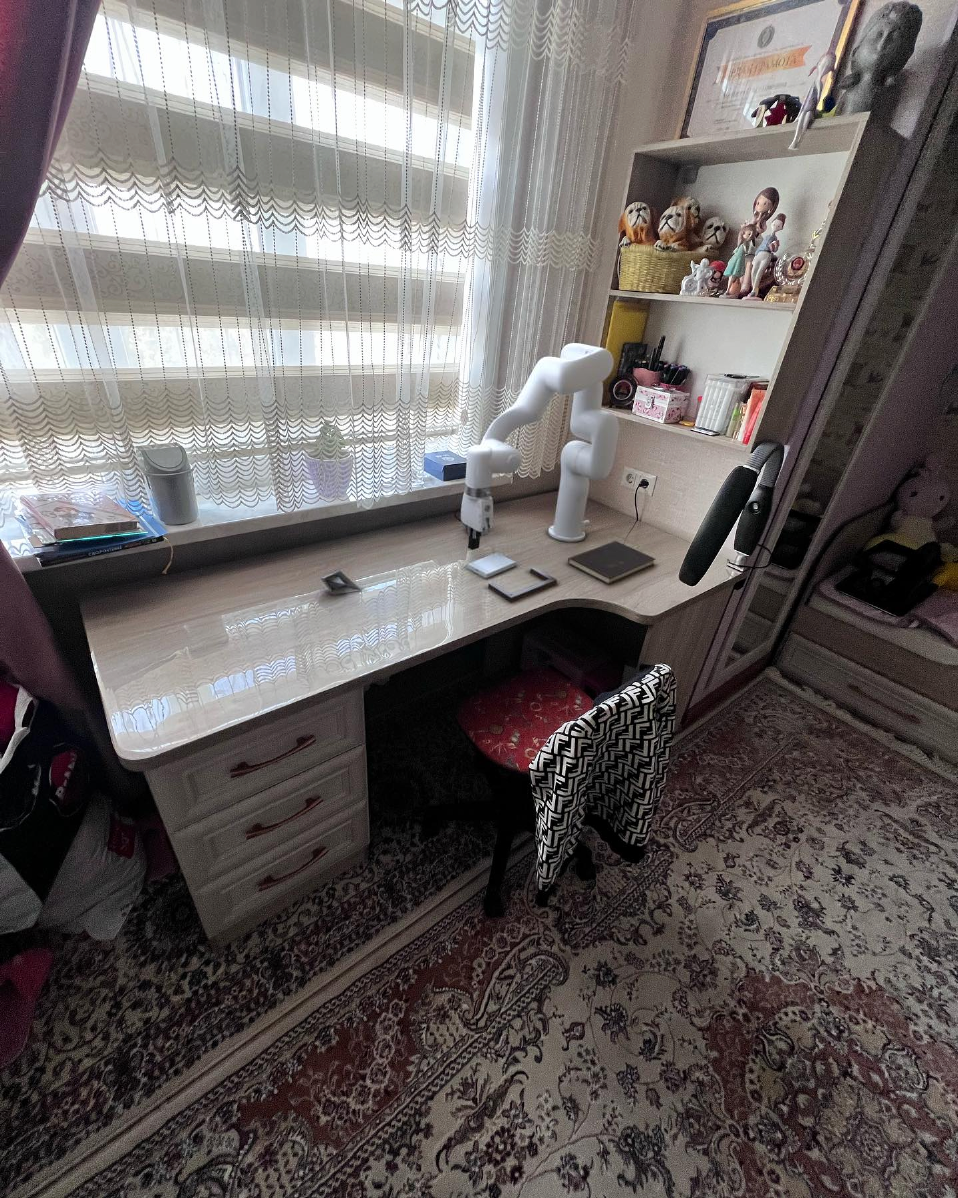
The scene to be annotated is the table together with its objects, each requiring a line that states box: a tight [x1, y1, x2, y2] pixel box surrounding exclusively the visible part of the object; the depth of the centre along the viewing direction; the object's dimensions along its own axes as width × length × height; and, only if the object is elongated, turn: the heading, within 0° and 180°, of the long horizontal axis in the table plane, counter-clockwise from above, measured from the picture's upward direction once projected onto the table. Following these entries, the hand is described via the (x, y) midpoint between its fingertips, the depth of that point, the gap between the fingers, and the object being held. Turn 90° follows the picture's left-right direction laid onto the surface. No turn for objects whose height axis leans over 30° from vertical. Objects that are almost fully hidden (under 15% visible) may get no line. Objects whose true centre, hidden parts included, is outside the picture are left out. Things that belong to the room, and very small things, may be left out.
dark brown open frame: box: [487, 566, 558, 603], centre depth 149 cm, size 18×9×2 cm, turn 130°
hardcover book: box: [567, 540, 656, 585], centre depth 164 cm, size 16×23×2 cm
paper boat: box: [320, 570, 362, 595], centre depth 138 cm, size 12×6×9 cm
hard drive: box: [466, 552, 517, 579], centre depth 157 cm, size 2×8×12 cm
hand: (473, 548), depth 161 cm, fingers closed
